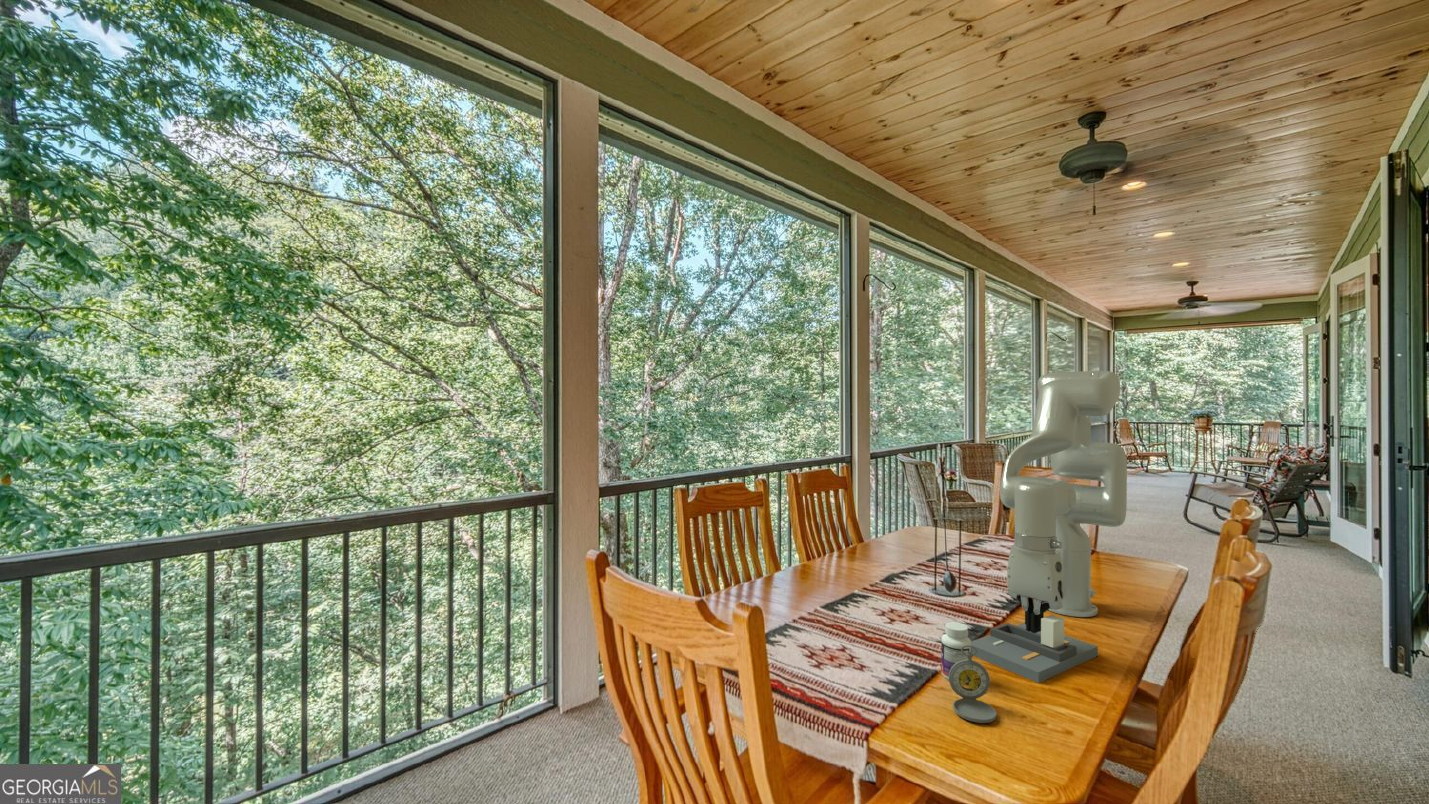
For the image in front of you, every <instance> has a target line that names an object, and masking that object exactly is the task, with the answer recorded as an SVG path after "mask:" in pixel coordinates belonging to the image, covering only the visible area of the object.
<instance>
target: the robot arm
mask: <svg viewBox="0 0 1429 804" xmlns="http://www.w3.org/2000/svg"><path fill="white" fill-rule="evenodd" d="M1037 391H1038V394H1037V395H1038V397H1037V402H1036V408H1035V414H1034V418H1033V424H1032V431H1031V434H1030V435H1029V436H1027V438H1025V439H1024V440H1023V441H1022V442H1021V441H1020V443H1019V444H1018V445H1016V446H1015V448H1014V449H1012V451H1010V453H1009V454H1008V456H1006V457H1007V458H1006V459H1005V461H1004V463H1003V464H1004V465H1003V469H1002V474H1001V478H1000V484H999V498H1000V501H1001V502H1002V504H1003V505H1004V506H1005V507H1006V508H1009V509H1012V510H1014V537H1013V538H1014V542H1013V543H1014V544H1012V545H1011V547H1010V550H1009V555H1008V560H1007V567H1006V568H1007V570H1006V586H1007V588H1008V591H1007V594H1008V595H1009V596H1011V597H1012V598H1014V599H1017V601H1018V602H1019V604H1020V605H1021V608H1022V610H1023V611H1024V623H1025V624H1026V631H1029V632H1030V631H1031V632H1032V633H1037V632H1040V631H1041V619H1042V618H1044V615H1045V613H1046V612H1047V611H1050V612H1052V613H1056V614H1060V615H1063V616H1067V617H1074V618H1075V617H1076V618H1077V617H1078V618H1091V617H1094V616H1097V615H1098V613H1099V610H1098V607H1097V606H1096V605H1094V604H1093V603H1091V597H1094V596H1096V594H1097V593H1096V592H1097V591H1096V590H1095V589H1093V588H1091V579H1092V578H1091V569H1092V568H1091V567H1092V565H1091V563H1092V562H1091V561H1092V555H1091V554H1092V551H1091V550H1092V548H1091V547H1092V545H1091V540H1090V537H1089V535H1088V534H1087V532H1086V531H1085V530H1084V528H1082V526H1081V525H1080V524H1083V525H1084V524H1086V525H1093V526H1101V527H1110V528H1115V527H1116V528H1117V527H1120V526H1122V525H1123V524H1124V522H1125V521H1126V518H1127V507H1128V506H1127V500H1128V499H1127V496H1128V495H1127V494H1128V492H1127V491H1128V490H1127V489H1128V487H1127V486H1128V483H1127V482H1128V466H1127V464H1128V463H1127V455H1126V453H1125V450H1124V449H1123V447H1122V446H1120V445H1119V444H1117V443H1112V442H1101V441H1098V442H1097V441H1092V439H1091V430H1092V429H1091V427H1092V423H1091V420H1090V419H1089V417H1104V416H1107V415H1108V414H1110V412H1111V411H1112V410H1113V409H1114V407H1115V405H1116V404H1117V401H1118V400H1119V398H1120V397H1119V396H1120V394H1121V381H1120V379H1119V376H1118V375H1117V374H1116V373H1115V372H1113V371H1110V370H1091V371H1090V370H1088V371H1087V370H1086V371H1085V370H1084V371H1083V370H1082V371H1080V370H1079V371H1078V370H1077V371H1075V370H1074V371H1073V370H1072V371H1071V370H1070V371H1054V372H1049V373H1045V374H1042V375H1041V376H1039V378H1038V380H1037ZM1048 456H1050V465H1051V469H1052V472H1053V474H1054V475H1056V476H1057V477H1061V478H1065V479H1074V480H1085V481H1087V480H1088V481H1098V482H1100V483H1102V484H1103V485H1104V486H1099V485H1098V486H1097V485H1086V484H1078V483H1069V481H1066V480H1064V479H1058V478H1048V477H1039V476H1029V475H1028V476H1026V475H1020V473H1021V471H1022V470H1023V468H1025V466H1027V465H1028V464H1030V463H1032V462H1034V461H1037V460H1039V459H1043V458H1044V457H1048Z"/></svg>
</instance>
